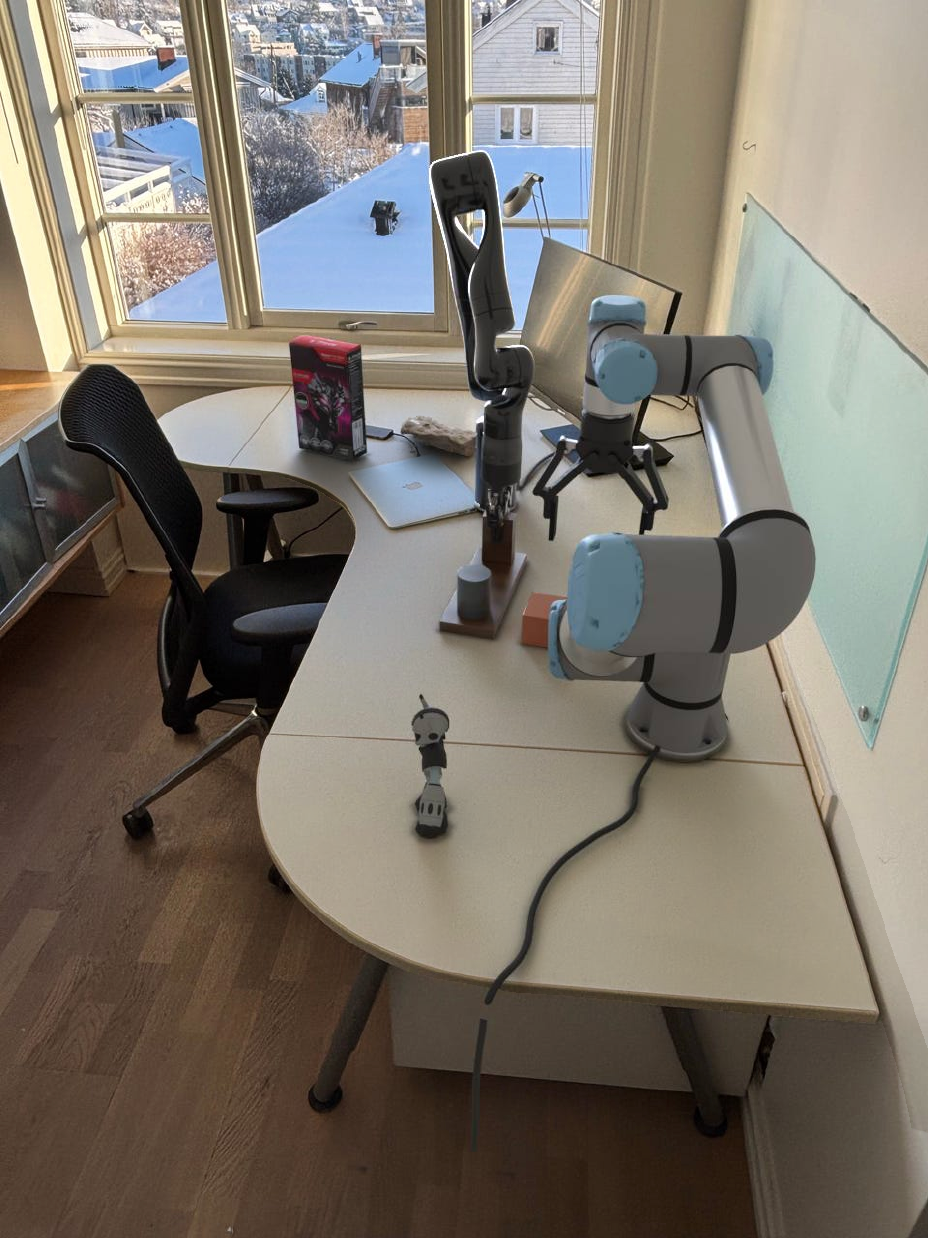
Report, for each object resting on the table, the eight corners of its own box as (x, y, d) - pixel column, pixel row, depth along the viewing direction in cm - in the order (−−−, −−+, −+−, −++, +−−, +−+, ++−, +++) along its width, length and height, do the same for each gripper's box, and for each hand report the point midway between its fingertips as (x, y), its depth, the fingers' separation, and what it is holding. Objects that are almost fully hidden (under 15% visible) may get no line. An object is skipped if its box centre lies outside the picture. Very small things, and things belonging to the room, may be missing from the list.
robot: (452, 871, 119) (452, 756, 108) (414, 872, 119) (410, 757, 108) (447, 767, 136) (446, 657, 124) (413, 768, 135) (410, 658, 124)
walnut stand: (493, 639, 163) (495, 581, 157) (439, 630, 165) (439, 573, 159) (526, 562, 186) (529, 508, 179) (478, 555, 188) (479, 502, 181)
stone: (384, 439, 228) (389, 416, 226) (404, 431, 242) (409, 408, 239) (464, 464, 225) (469, 440, 222) (479, 454, 238) (485, 431, 236)
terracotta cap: (566, 650, 160) (568, 622, 157) (521, 643, 162) (522, 615, 159) (573, 626, 167) (576, 598, 164) (530, 619, 169) (532, 591, 165)
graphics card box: (296, 449, 231) (285, 340, 216) (313, 439, 236) (303, 333, 221) (353, 463, 224) (346, 352, 209) (369, 453, 229) (363, 343, 214)
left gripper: (512, 473, 164) (509, 557, 173) (529, 442, 175) (525, 523, 184) (472, 468, 165) (470, 552, 175) (491, 438, 176) (488, 518, 186)
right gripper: (698, 409, 132) (678, 540, 143) (527, 393, 137) (521, 522, 148) (696, 427, 126) (676, 563, 137) (517, 410, 131) (511, 543, 142)
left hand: (498, 537), depth 180 cm, fingers open, 3 cm apart
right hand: (595, 542), depth 143 cm, fingers open, 13 cm apart
